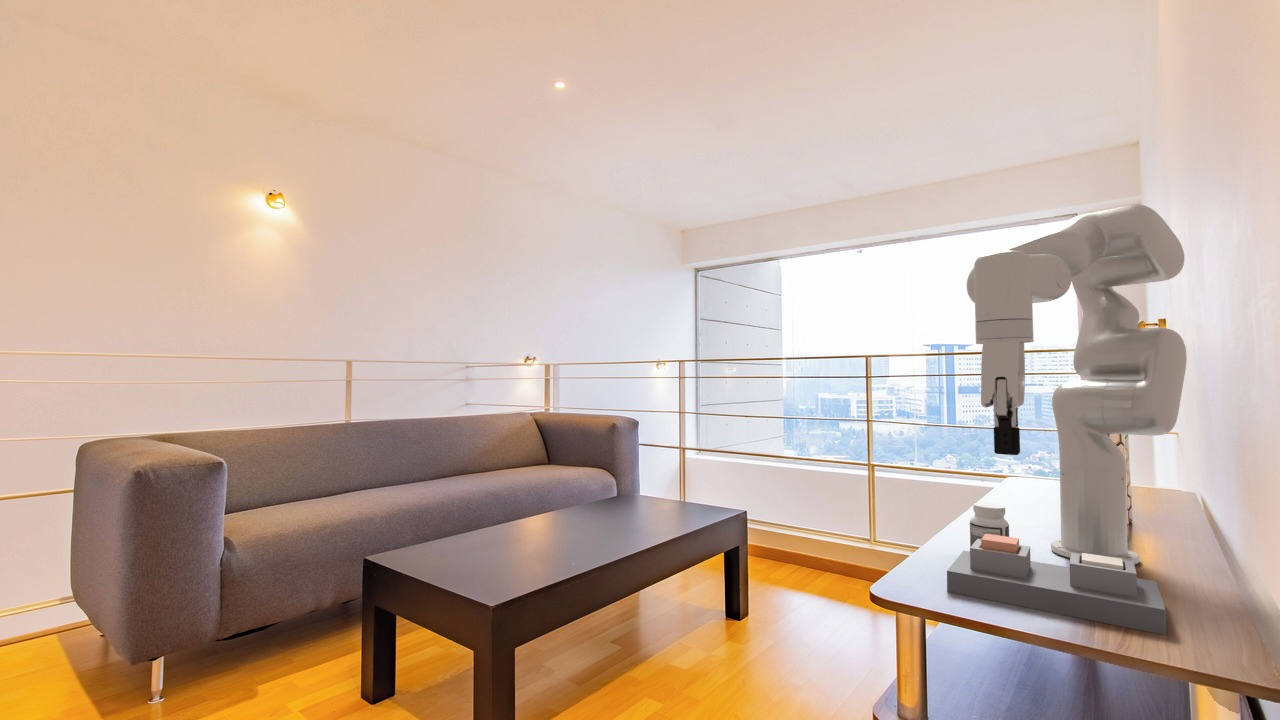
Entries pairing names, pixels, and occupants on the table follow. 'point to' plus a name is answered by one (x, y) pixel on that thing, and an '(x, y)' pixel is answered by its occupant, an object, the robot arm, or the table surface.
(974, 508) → the pill bottle
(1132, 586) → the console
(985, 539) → the terracotta key
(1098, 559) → the pale key
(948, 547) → the table surface
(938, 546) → the table surface
